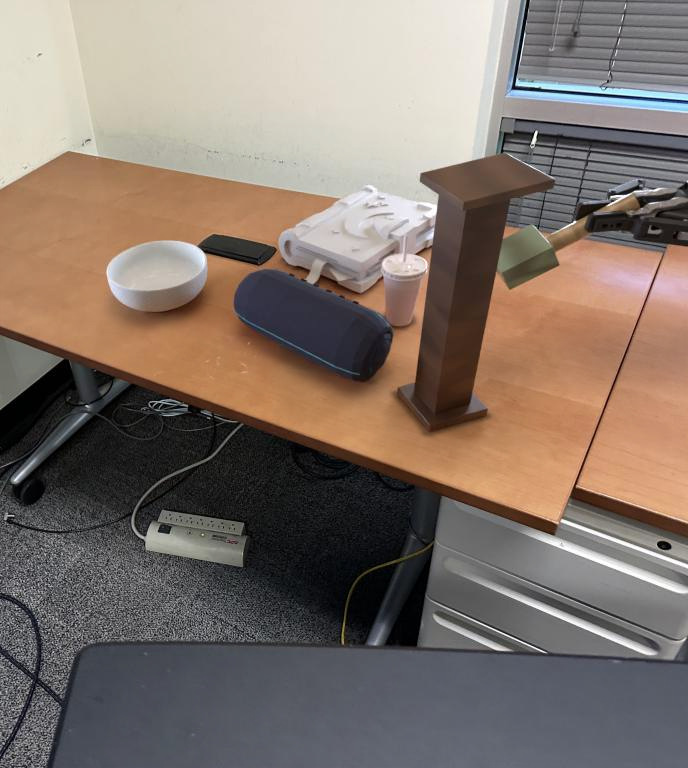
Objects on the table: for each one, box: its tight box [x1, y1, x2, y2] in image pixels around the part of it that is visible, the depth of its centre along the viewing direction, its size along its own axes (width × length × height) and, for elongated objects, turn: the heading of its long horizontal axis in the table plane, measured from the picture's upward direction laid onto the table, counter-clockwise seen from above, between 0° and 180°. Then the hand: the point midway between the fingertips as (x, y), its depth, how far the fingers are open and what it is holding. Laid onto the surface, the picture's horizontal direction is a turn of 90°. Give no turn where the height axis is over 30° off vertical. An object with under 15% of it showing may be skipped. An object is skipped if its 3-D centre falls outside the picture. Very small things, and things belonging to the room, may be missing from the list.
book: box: [278, 184, 437, 294], centre depth 118 cm, size 19×28×8 cm
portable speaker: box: [232, 268, 394, 383], centre depth 98 cm, size 25×10×10 cm, turn 40°
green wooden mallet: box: [496, 194, 640, 291], centre depth 82 cm, size 16×6×3 cm, turn 88°
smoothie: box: [381, 234, 428, 327], centre depth 100 cm, size 6×6×14 cm
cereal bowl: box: [106, 239, 208, 313], centre depth 115 cm, size 17×17×7 cm
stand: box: [396, 152, 556, 433], centre depth 80 cm, size 10×8×31 cm
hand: (582, 217), depth 80 cm, fingers closed on green wooden mallet, 2 cm apart
